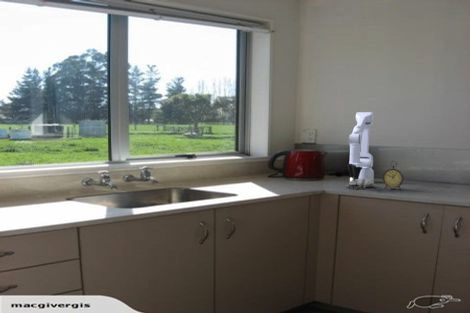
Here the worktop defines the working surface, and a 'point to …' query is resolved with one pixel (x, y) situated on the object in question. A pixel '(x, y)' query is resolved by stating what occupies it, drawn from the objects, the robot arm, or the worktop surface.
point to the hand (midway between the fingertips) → (354, 177)
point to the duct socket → (362, 183)
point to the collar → (353, 181)
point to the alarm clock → (393, 177)
